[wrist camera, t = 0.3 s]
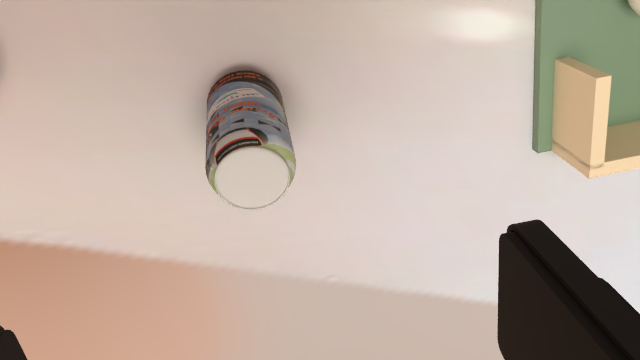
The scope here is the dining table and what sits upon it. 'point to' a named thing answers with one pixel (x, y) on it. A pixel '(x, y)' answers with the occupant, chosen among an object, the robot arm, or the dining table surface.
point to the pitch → (588, 84)
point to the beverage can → (248, 141)
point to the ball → (635, 5)
